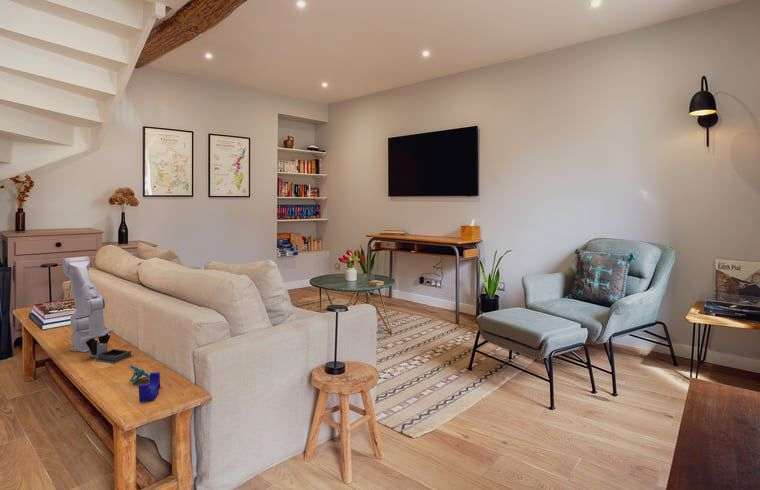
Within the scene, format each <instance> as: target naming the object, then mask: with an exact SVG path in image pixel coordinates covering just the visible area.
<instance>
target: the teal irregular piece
mask: <svg viewBox="0 0 760 490" xmlns="http://www.w3.org/2000/svg"><path fill="white" fill-rule="evenodd" d="M129 369H132V370H133V373H132V376H131V378H130V379H129V381H132V382H131V384H133V385H135V384H136V383H137V381H138V380H139V379H140V378H141V377H143V376H144V377H146V378H148V379H150V374H148V373H147V372H145V370H144V369H140V368H138V367H136V366H134V365H132V364H130V365H129ZM133 379H134V380H133Z"/></svg>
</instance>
